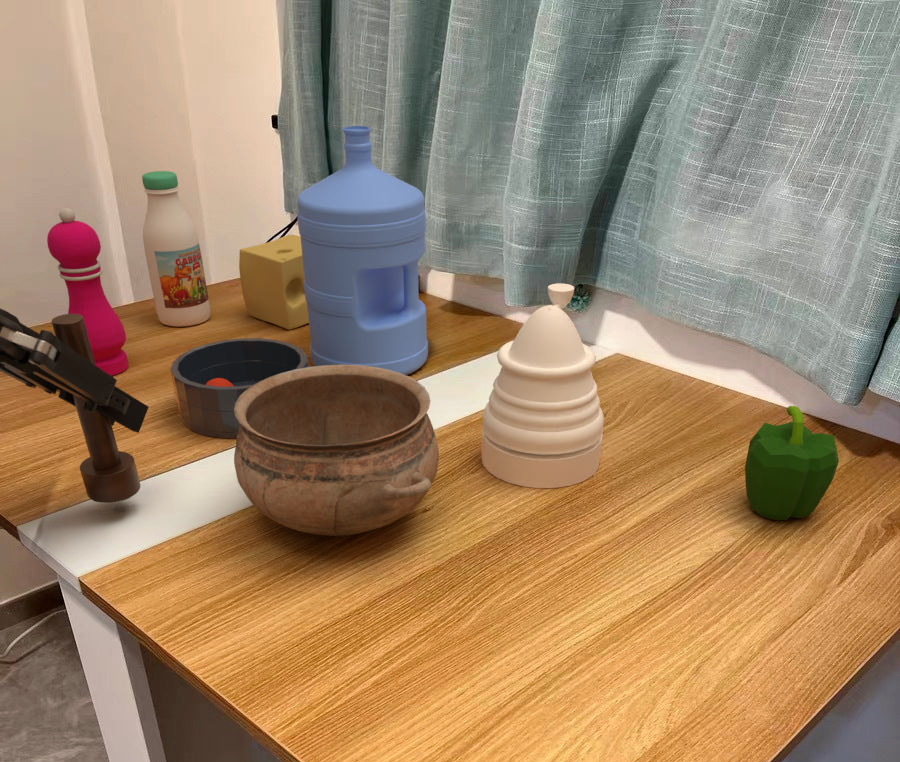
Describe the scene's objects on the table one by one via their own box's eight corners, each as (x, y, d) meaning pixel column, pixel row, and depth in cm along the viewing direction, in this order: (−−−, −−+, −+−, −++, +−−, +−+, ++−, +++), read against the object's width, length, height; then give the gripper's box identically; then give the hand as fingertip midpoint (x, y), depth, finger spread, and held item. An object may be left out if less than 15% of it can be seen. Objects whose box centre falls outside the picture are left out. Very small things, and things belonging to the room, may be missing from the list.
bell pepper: (821, 538, 84) (849, 441, 78) (732, 522, 86) (752, 427, 80) (824, 496, 90) (850, 404, 84) (740, 482, 92) (760, 392, 86)
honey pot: (521, 423, 104) (528, 265, 93) (620, 452, 98) (640, 287, 87) (458, 465, 95) (458, 297, 85) (562, 500, 89) (577, 324, 79)
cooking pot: (194, 502, 89) (171, 387, 82) (346, 445, 99) (338, 339, 92) (338, 615, 74) (326, 487, 67) (501, 535, 84) (505, 416, 77)
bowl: (174, 443, 100) (164, 393, 96) (186, 387, 112) (177, 341, 109) (314, 434, 102) (309, 384, 98) (310, 380, 114) (305, 334, 111)
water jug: (289, 373, 116) (262, 134, 99) (346, 334, 127) (330, 114, 111) (397, 392, 111) (387, 144, 94) (446, 349, 123) (445, 122, 106)
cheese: (342, 314, 134) (337, 245, 128) (286, 333, 128) (278, 261, 122) (299, 299, 140) (292, 232, 134) (243, 316, 134) (233, 247, 128)
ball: (193, 381, 104) (195, 410, 102) (217, 366, 102) (220, 395, 100) (218, 395, 107) (221, 423, 105) (242, 381, 105) (246, 409, 104)
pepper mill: (63, 374, 116) (19, 211, 104) (100, 355, 121) (62, 198, 109) (108, 382, 114) (68, 217, 102) (144, 362, 119) (109, 203, 107)
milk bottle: (149, 326, 130) (119, 178, 118) (171, 309, 136) (144, 167, 124) (199, 329, 129) (173, 180, 117) (219, 311, 135) (196, 168, 123)
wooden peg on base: (81, 504, 85) (29, 330, 74) (94, 478, 89) (45, 309, 78) (135, 502, 85) (89, 327, 75) (145, 476, 89) (103, 307, 79)
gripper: (-177, 319, 67) (56, 434, 88) (-37, 355, 61) (176, 469, 82) (-139, 229, 67) (83, 365, 89) (4, 255, 61) (204, 395, 83)
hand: (127, 415), depth 86 cm, fingers closed on wooden peg on base, 3 cm apart
